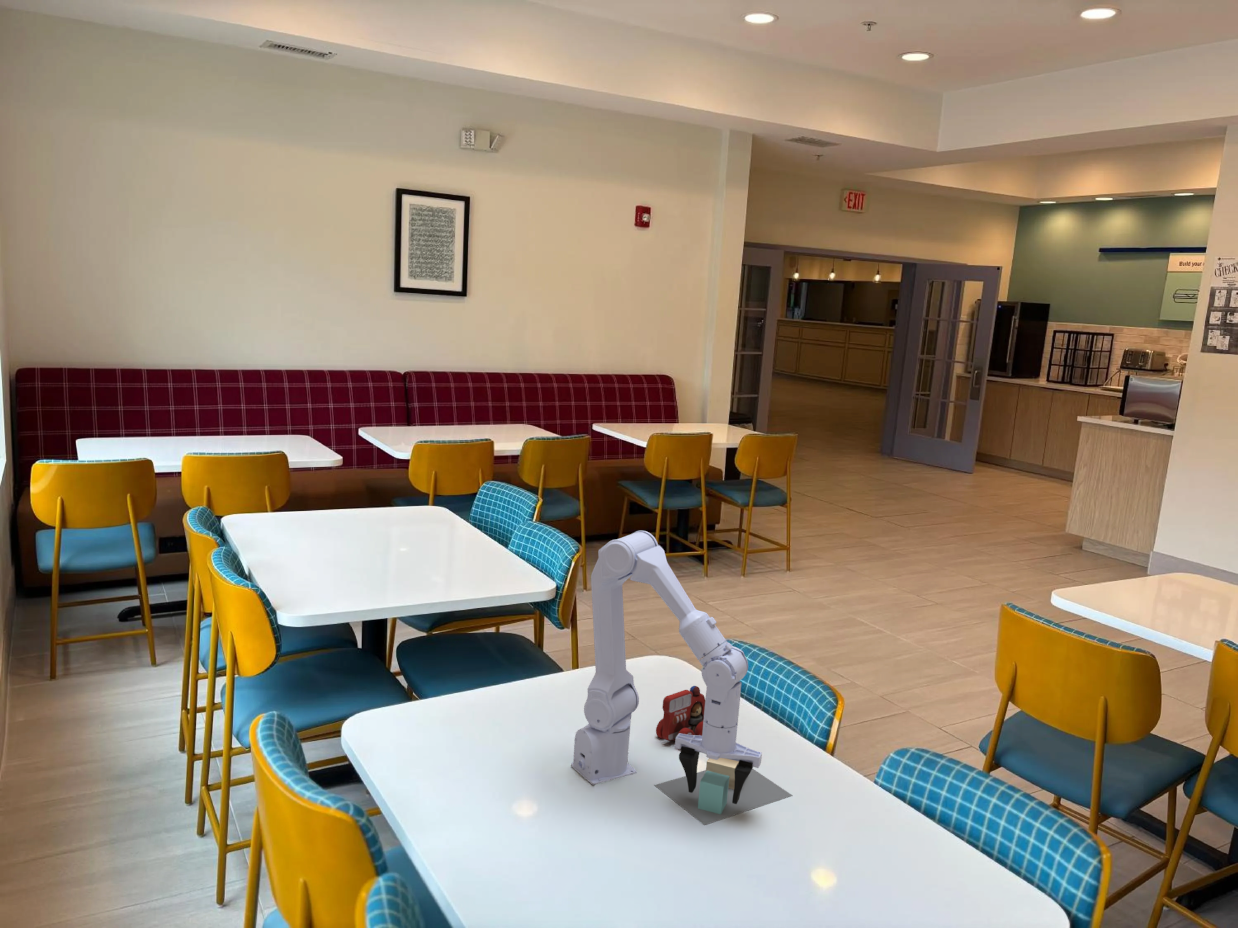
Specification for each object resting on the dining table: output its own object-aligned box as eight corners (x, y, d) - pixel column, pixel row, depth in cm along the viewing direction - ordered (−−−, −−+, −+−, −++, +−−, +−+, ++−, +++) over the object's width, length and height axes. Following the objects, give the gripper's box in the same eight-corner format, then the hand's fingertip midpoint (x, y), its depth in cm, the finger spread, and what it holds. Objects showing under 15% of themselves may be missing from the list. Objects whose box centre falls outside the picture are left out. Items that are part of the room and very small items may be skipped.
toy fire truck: (718, 737, 185) (722, 688, 183) (674, 755, 176) (679, 704, 174) (692, 724, 190) (696, 676, 188) (648, 741, 181) (653, 691, 179)
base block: (737, 790, 164) (739, 769, 164) (704, 781, 166) (706, 761, 166) (745, 774, 170) (747, 754, 169) (713, 767, 172) (715, 746, 171)
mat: (704, 827, 153) (704, 824, 153) (653, 787, 164) (654, 784, 164) (792, 797, 164) (792, 795, 164) (739, 761, 175) (740, 759, 175)
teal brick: (720, 814, 156) (723, 786, 155) (697, 808, 158) (700, 780, 157) (726, 802, 160) (729, 775, 159) (704, 796, 161) (706, 770, 160)
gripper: (672, 720, 155) (665, 795, 157) (758, 740, 150) (750, 817, 152) (684, 704, 161) (678, 776, 164) (767, 722, 156) (759, 797, 159)
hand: (713, 795), depth 158 cm, fingers open, 7 cm apart
